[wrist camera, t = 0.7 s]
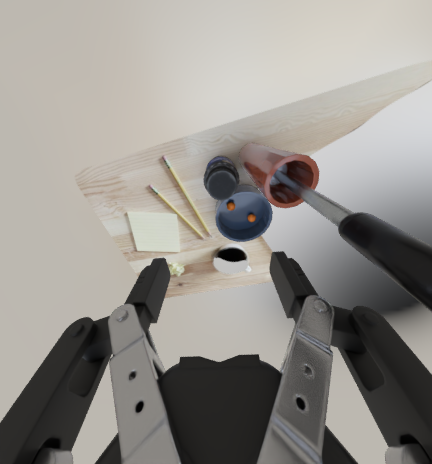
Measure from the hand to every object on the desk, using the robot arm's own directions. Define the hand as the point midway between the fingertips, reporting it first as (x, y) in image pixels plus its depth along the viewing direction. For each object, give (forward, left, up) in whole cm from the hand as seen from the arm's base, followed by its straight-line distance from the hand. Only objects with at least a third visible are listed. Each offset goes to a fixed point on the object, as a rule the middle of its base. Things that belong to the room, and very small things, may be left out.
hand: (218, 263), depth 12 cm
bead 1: (+7, +2, -25) cm, 25 cm away
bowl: (+9, +4, -26) cm, 28 cm away
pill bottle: (-1, +1, -26) cm, 26 cm away
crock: (-2, +8, -26) cm, 27 cm away
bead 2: (+11, +6, -25) cm, 28 cm away
